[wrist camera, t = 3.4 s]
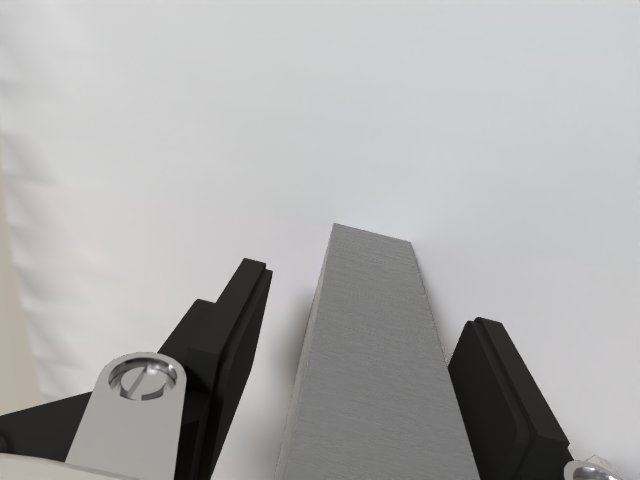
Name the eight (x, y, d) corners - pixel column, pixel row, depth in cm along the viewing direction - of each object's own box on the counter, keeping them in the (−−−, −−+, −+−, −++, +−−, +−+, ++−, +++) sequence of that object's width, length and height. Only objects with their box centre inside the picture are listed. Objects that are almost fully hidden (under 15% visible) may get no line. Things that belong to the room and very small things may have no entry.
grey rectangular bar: (333, 222, 14) (251, 662, 3) (410, 242, 14) (556, 737, 3) (307, 323, 15) (190, 864, 5) (377, 340, 15) (414, 920, 5)
